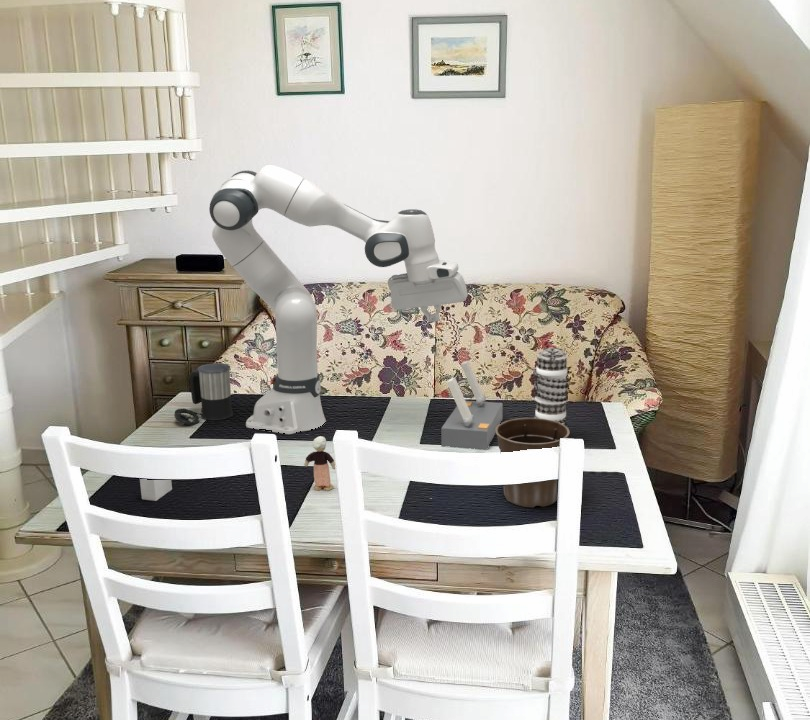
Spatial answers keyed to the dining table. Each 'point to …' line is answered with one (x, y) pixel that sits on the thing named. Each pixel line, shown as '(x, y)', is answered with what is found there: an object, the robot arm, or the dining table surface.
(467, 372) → the switch lever
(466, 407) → the switch lever
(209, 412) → the milk frother
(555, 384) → the decorative candle
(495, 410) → the switch unit
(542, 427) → the plant pot
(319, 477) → the grandmother figurine
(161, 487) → the light grey rectangular block
